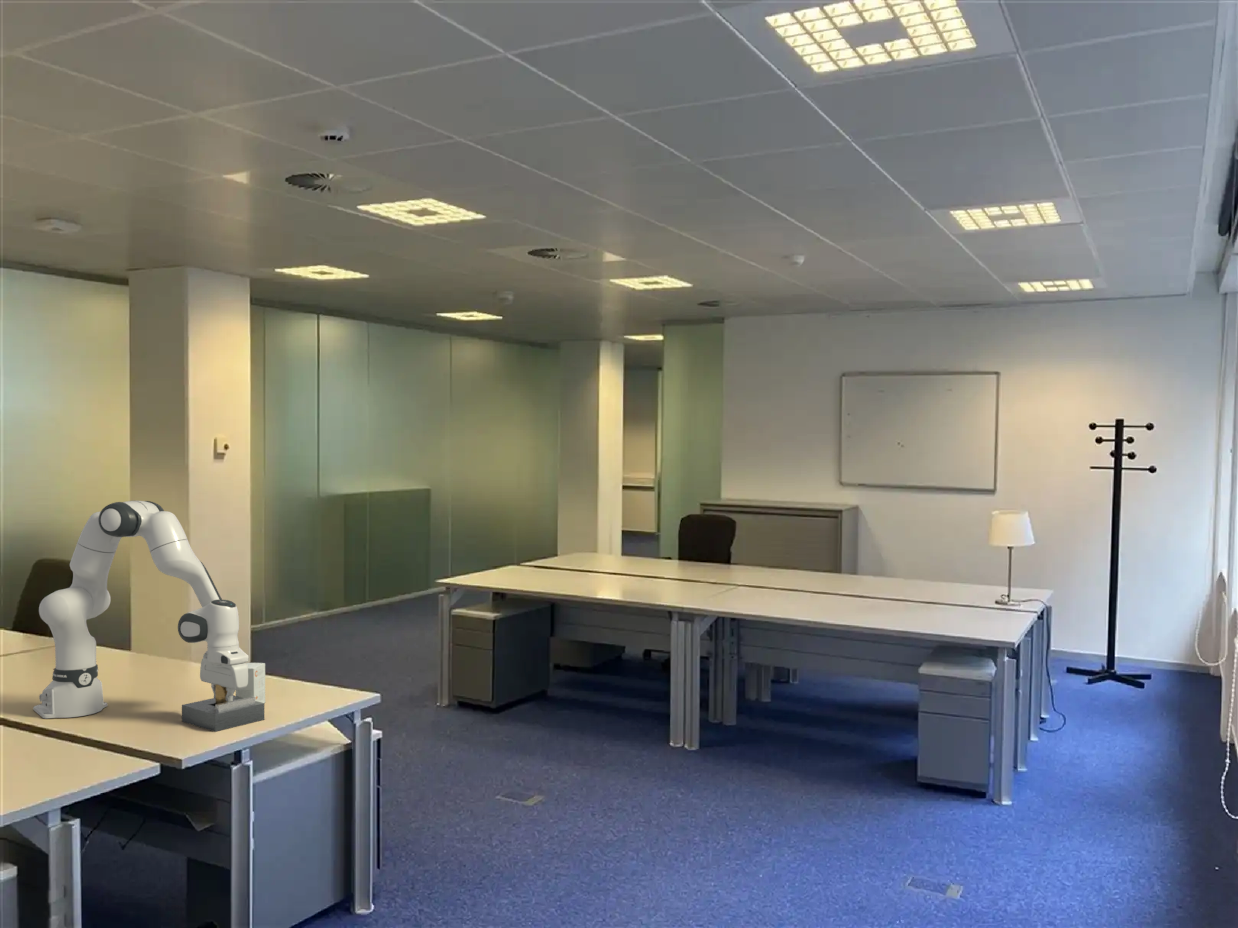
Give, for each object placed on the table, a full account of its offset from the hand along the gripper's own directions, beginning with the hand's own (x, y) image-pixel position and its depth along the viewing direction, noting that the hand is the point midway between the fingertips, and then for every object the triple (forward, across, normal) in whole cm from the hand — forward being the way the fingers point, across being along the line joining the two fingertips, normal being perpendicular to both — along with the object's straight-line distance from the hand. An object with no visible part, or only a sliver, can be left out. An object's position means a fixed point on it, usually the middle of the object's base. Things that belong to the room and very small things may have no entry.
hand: (223, 699), depth 293 cm
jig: (+6, 0, 0) cm, 6 cm away
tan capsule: (+3, 0, 0) cm, 3 cm away
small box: (+6, -9, +15) cm, 19 cm away
